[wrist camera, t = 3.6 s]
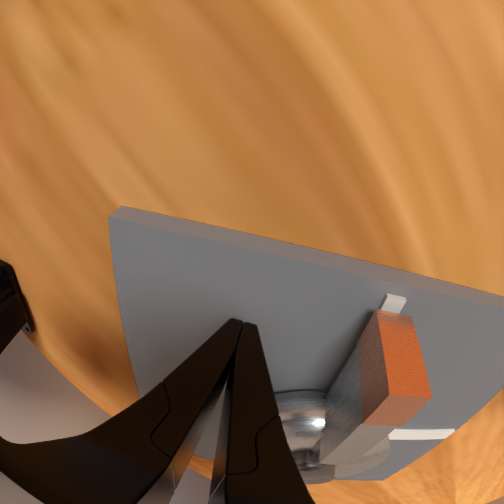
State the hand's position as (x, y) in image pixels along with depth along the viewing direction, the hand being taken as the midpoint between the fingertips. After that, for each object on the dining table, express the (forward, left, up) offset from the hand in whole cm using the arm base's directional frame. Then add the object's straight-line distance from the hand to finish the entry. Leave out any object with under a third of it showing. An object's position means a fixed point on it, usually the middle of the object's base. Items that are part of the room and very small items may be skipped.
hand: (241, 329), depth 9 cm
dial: (+5, -7, -2) cm, 9 cm away
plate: (+5, -9, -3) cm, 11 cm away
